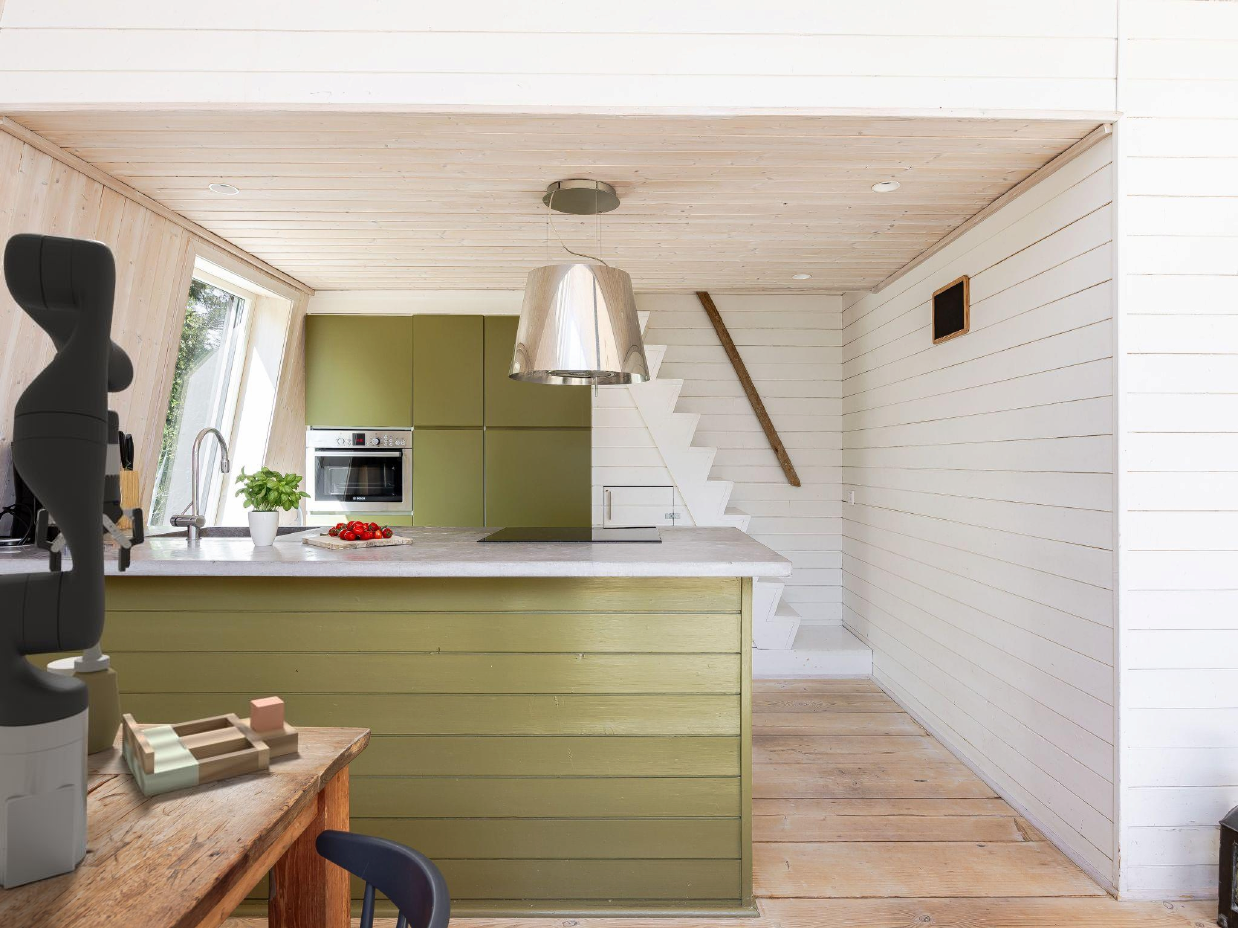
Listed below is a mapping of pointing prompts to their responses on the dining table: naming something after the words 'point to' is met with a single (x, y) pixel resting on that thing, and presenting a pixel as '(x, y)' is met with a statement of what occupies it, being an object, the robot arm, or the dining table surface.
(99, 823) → the dining table surface
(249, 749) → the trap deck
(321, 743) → the dining table surface
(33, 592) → the robot arm
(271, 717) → the block
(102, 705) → the squeeze bottle
